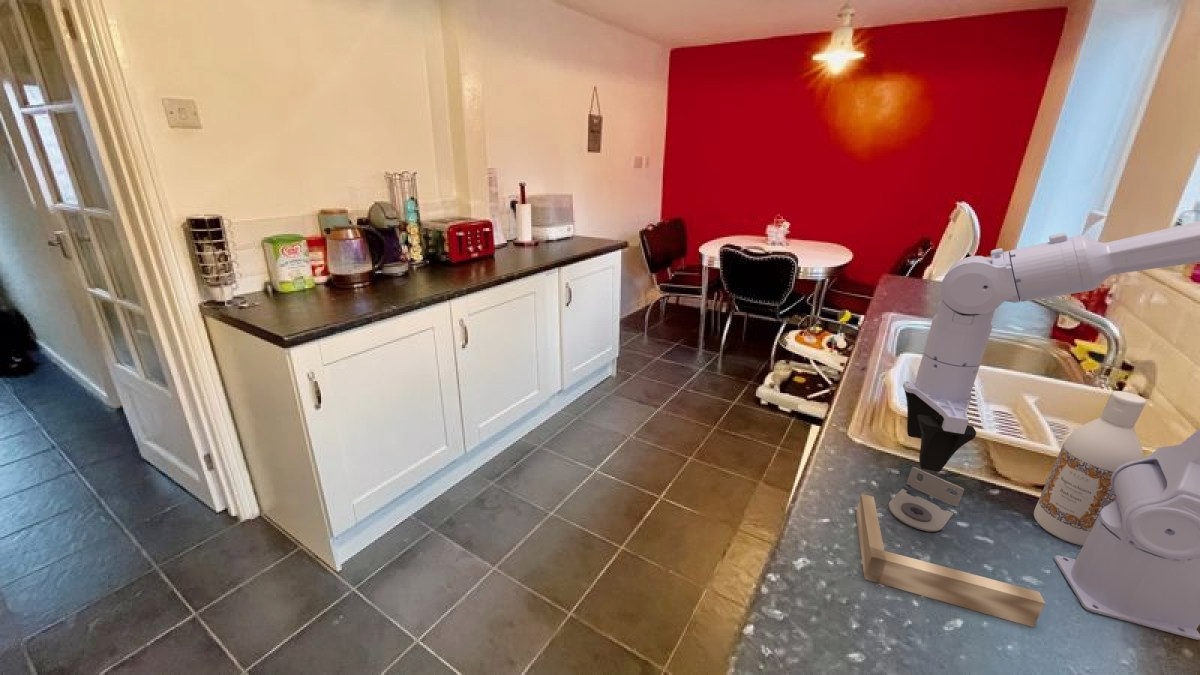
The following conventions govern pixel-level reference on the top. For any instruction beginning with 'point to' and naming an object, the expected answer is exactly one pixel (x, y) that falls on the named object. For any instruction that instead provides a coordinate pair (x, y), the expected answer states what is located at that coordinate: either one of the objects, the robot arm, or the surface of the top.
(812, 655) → the top surface
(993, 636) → the top surface
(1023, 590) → the l-shaped wooden block
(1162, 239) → the robot arm
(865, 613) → the top surface
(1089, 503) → the bath foam
